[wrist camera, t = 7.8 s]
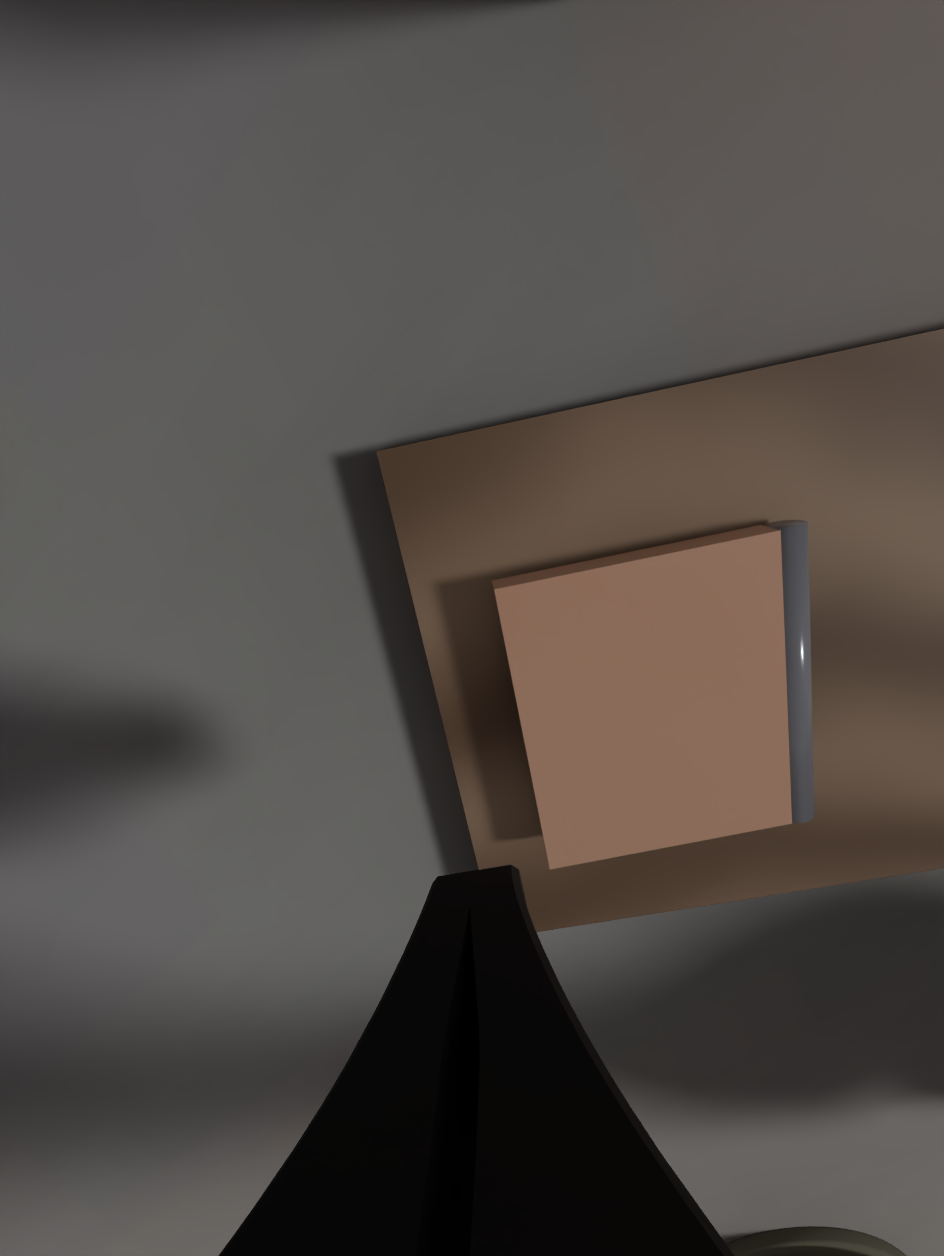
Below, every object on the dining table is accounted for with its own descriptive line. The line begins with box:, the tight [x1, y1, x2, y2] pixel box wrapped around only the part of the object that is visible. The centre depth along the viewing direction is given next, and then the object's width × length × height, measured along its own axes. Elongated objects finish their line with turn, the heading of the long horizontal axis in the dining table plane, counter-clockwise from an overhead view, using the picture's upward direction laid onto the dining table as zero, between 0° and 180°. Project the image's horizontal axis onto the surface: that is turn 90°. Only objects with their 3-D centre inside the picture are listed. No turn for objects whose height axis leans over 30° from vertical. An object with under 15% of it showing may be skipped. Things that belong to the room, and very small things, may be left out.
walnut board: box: [376, 329, 944, 932], centre depth 16 cm, size 15×18×1 cm
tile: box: [492, 520, 815, 869], centre depth 15 cm, size 8×7×1 cm
